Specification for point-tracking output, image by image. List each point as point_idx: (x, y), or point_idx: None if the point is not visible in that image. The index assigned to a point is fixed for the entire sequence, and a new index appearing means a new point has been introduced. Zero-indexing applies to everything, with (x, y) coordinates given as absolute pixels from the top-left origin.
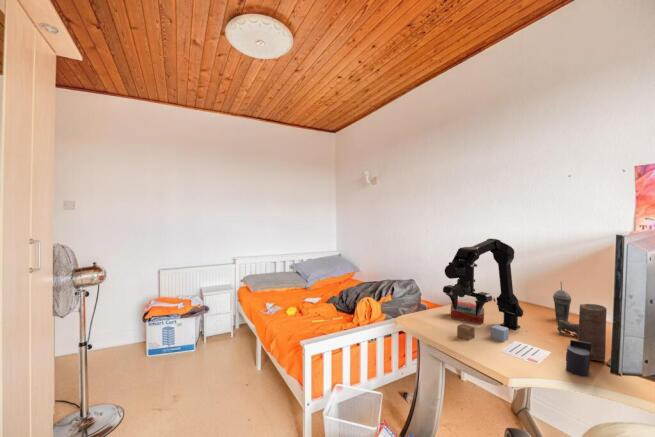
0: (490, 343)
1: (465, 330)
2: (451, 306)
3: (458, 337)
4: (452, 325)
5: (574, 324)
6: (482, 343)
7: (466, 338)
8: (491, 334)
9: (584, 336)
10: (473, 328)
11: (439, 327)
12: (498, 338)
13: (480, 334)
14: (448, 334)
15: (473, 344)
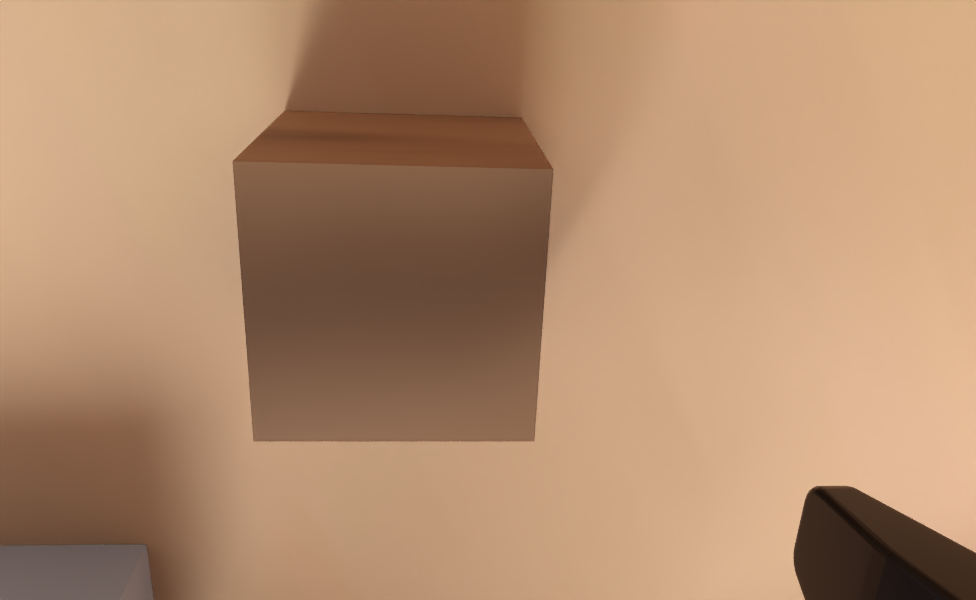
0: (22, 347)
1: (332, 151)
2: None
3: (495, 117)
4: None
5: None
6: (91, 231)
7: (327, 118)
8: (112, 593)
9: None
10: (255, 378)
11: (944, 269)
12: (2, 572)
13: (323, 555)
14: (690, 89)
15: (151, 36)
